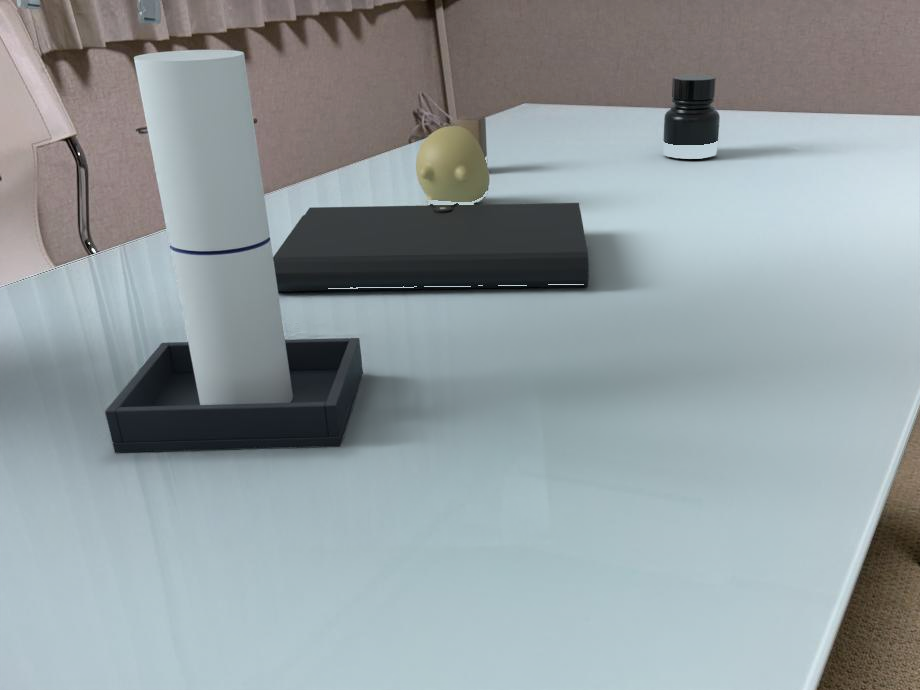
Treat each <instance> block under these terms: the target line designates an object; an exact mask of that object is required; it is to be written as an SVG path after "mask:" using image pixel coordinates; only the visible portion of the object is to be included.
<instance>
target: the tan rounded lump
mask: <svg viewBox="0 0 920 690" xmlns="http://www.w3.org/2000/svg"><path fill="white" fill-rule="evenodd" d="M415 171H416V177H417V180H418V183H419V185H420V188H421V190H422V192H424V195H425V196H426V200H427V199H428V200H438V201H451V202H472V201H475V200H477V199H479V198H481V197H483V195H484V194H485V192H486V191H488V192H489V186H490V180H491V179H490V178H491V177H490V171H489V167H488V162H487V163H486V160H485V157H484V154H483V151H482V149H481V147H480V145H479V143H478V141H477V140H476V138H475V137H474V136H473V134H472V133H471V132H470V131H468V130H467V129H466V128H464V127H460V126H455V125H448V126H443V127H440V128H438V129H436V130H435V131H432V132H431V133H430V134H429V135H427V137H426V138H425V139H424V140H423V142H422V143H421V144H420V147H419V150H418V152H417V155H416V161H415Z"/></svg>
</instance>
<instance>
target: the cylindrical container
mask: <svg viewBox="0 0 920 690" xmlns="http://www.w3.org/2000/svg"><path fill="white" fill-rule="evenodd" d="M245 57H246V56H245V53H244V52H243V51H240V50H234V49H233V50H232V49H188V50H187V49H186V50H171V51H169V50H168V51H160V52H151V53H144V54H138V55H136V56H135V55H134V57H133V60H134V61H133V62H134V66H135V72H136V77H137V82H138V87H139V93H140V98H141V103H142V109H143V113H144V118H145V124H146V130H147V134H148V140H149V144H150V145H149V146H150V151H151V154H152V155H151V156H152V161H153V165H154V171H155V177H156V182H157V186H158V193H159V197H160V203H161V207H162V211H163V212H162V213H163V218H164V224H165V229H166V234H167V240H168V244H169V249H170V254H171V260H172V265H173V270H174V276H175V281H176V286H177V291H178V297H179V301H180V307H181V312H182V317H183V323H184V327H185V333H186V337H187V342H188V344H189V349H190V354H191V359H192V364H193V370H194V375H195V380H196V385H197V391H198V396H199V401H200V405H223V404H261V403H290V402H291V401H292V398H293V393H292V386H291V379H290V372H289V365H288V358H287V351H286V344H285V340H286V339H285V338H286V337H285V331H284V325H283V318H282V309H281V303H280V296H279V292H278V288H277V281H276V274H275V267H274V260H273V257H274V253H273V247H272V240H271V237H270V236H271V235H270V233H271V232H270V225H269V220H268V219H269V218H268V212H267V205H266V197H265V191H264V184H263V176H262V169H261V163H260V157H259V149H258V143H257V134H256V128H255V121H254V113H253V107H252V99H251V93H250V86H249V78H248V72H247V66H246V65H247V64H246V58H245Z"/></svg>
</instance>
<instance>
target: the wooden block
mask: <svg viewBox="0 0 920 690" xmlns="http://www.w3.org/2000/svg"><path fill="white" fill-rule="evenodd" d="M486 121H487V120H486V117H485V116H484V115H462V116H459V117H457V118H456V119H455V120H454V126H460V127H464V128H466V129H467V130H468V131H470V132H471V133H472V134H473V136H474V137H475V138H476V140H477V141H478V143H479V145H480V147H481V149H482V151H483V154H484V157H486V156H487V157H488V149H487V147H488V146H487V123H486Z"/></svg>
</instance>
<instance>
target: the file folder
mask: <svg viewBox="0 0 920 690" xmlns="http://www.w3.org/2000/svg"><path fill="white" fill-rule="evenodd" d="M582 217H583V216H582V212H581V207H580V203H579V202H551V203H550V202H549V203H545V202H544V203H541V202H539V203H493V204H492V203H490V204H488V203H486V204H484V203H483V204H474V205H459V204H458V203H456V204H454V205H433V204H430V205H427V204H425V205H380V206H379V205H378V206H377V205H375V206H373V205H372V206H370V205H369V206H323V207H322V206H321V207H316V206H315V207H314V206H313V207H309V208H308V209H307V210H306V211H305V214H303V215H302V216H301V217H300V219H299V220H298V222H297V223H296V224H295V225H294V227H293V228H292V230H291V231H290V233H289V234H288V236H287V237H286V239H285V240H284V241H283V243H282V244H281V245H280V247H279V248H278V250H277V251H276V252H275V254H273V260H274V267H275V274H276V281H277V288H278V293H288V292H289V293H291V292H295V293H296V292H345V291H403V290H405V291H408V290H454V289H455V290H459V289H463V290H464V289H512V288H513V289H514V288H517V289H518V288H521V289H522V288H565V287H568V288H572V287H573V288H574V287H576V288H577V287H588V286H589V275H590V274H589V272H590V270H589V269H590V268H589V252H588V246H587V241H586V236H585V235H586V234H585V230H584V229H585V228H584V222H583V218H582ZM548 284H584V285H548ZM478 285H483V286H478ZM498 285H527V286H498ZM403 286H404V287H414V286H417V287H414V288H358V289H328V288H350V287H353V288H356V287H403ZM424 286H471V287H424Z"/></svg>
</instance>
